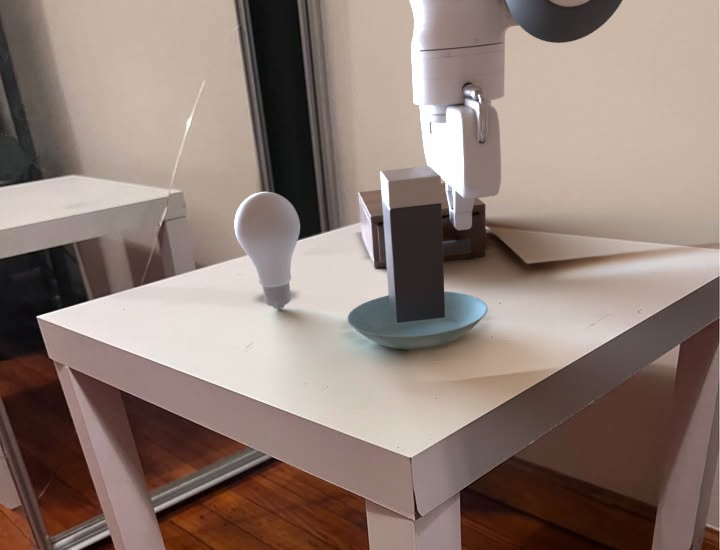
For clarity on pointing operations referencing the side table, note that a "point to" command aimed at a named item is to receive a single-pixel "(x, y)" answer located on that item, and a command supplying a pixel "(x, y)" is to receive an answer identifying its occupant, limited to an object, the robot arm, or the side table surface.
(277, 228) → the lightbulb
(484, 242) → the cabinet
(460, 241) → the drawer
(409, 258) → the two-tone tall pillar
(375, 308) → the saucer
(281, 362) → the side table surface
